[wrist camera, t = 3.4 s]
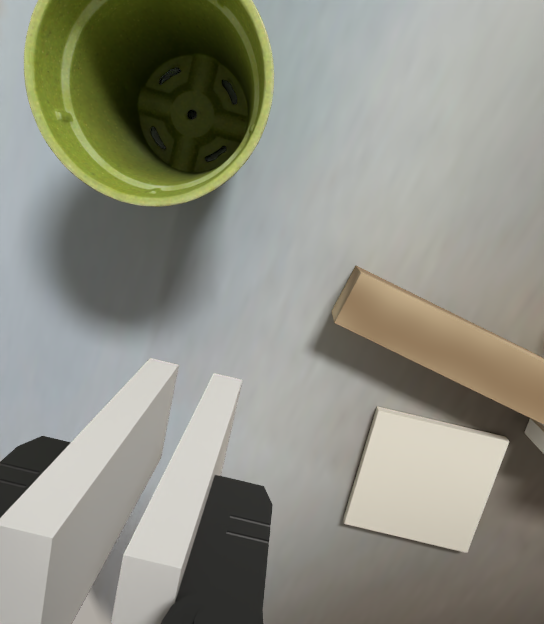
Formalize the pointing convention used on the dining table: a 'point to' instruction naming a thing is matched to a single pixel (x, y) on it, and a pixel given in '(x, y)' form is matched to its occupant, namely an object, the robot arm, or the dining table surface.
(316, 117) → the dining table surface
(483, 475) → the coaster
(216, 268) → the dining table surface
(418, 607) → the dining table surface
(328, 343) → the dining table surface
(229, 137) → the plant pot
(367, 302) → the rod
